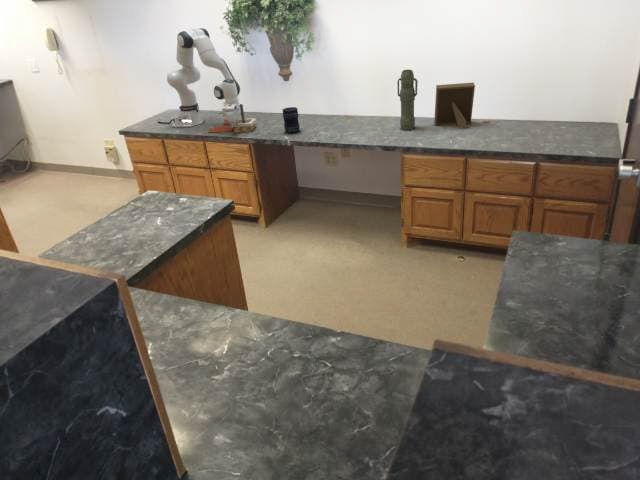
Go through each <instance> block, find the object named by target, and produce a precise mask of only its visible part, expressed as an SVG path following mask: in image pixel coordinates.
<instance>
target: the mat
mask: <svg viewBox="0 0 640 480" xmlns="http://www.w3.org/2000/svg"><path fill="white" fill-rule="evenodd" d="M232 131H234V128H233V127H232V125H219V126H213V127H212V128H211V129H210V130H209V131H208V134H215V133H231V132H232Z"/></svg>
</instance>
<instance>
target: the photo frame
mask: <svg viewBox="0 0 640 480" xmlns="http://www.w3.org/2000/svg"><path fill="white" fill-rule="evenodd" d="M475 88H476V84H475V82H462V83H461V82H460V83H448V84H447V83H445V84H438V85H436V86H435V103H434V104H435V105H434V119H433V120H434V121H433V123H434V126H435V127H437V126H438V127H439V126H453V125H454V126H455V125H457V127H458V129H467V125H469V124H472V117H473V109H474V107H473V106H474V99H475V90H476V89H475Z"/></svg>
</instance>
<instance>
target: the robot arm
mask: <svg viewBox="0 0 640 480" xmlns="http://www.w3.org/2000/svg"><path fill="white" fill-rule="evenodd" d="M176 40H177V41H176V42H177V43H176V62H177V63H178V64H179V66H181V68H179V69H175V70H172V71H170V72H169V73H167V75H166V82H167V84H168V85H169V86H170V87H172V88H174V89H175V91H176V92H177V94H178V95H179V96H178V97H179V100H180V103H181V105H180V106H179V107H178V108H179V112H178V113H176V115H175V116H174V118H173V119H170V120H169V121H168V122H165V121H156V122H157V123H159V124H165V125H169V124H171V123H172V121H173V123H172V124H171V127H172V128H192V127H195V126H200V125H202V124H203V123H204V120H203V119H202V116H201V114H200V113H201V112H200V106H199V103H198V101H197V95H196V92H195V91H193V89H192V90H191V89H190V88H189V87H188V85H191V84H195V83H196V82H198V81H200V80H201V72H200V70H199V69H198V68H197V66H195V63H194V49H196V51H197V54H198V56H199V58H200V61H201V63H202V64H203V65H204V66H206V67H209V68H213V69H216V70H218V71H220V73H221V74H222V76H223V77H224V80H222V82H221V83H219V84H216V85H215V86H214V87H213V95H214V97H215V98H216V99H217V100H224V102H225V111H226V115H227V120H228V122H229V123H233V125H234V127H236V126H237V124H238V119H239V118H240V117H241V111H240V106H239V105H240V100H239V95H240V94H241V87H240V84H239V83H238V82H237V80H236V78H235V77H234V75H233V73H232V72H231V70H230V68H229V66H228V64H227V63H226V61H225V60H224V59H223V58H222V57H221V56H220V55H219V54H218V53H217V51H216V48H215V46H214V44H213V42H212V40H211V38H210V33H209V32H208V30H207V29H206V28H201V27H200V28H191V29H188V30H182V31H180V32H178V34H177V37H176Z"/></svg>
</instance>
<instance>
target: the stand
mask: <svg viewBox="0 0 640 480" xmlns="http://www.w3.org/2000/svg"><path fill="white" fill-rule="evenodd" d="M239 106H240V112H241V115H240V117H241V119H242V122H239V123H238V124H240V123H250V122H245V119H246V118H245V111H244V105H243V104H242V103H239ZM233 128H234V129H233V133H234V134H235V133H252V132H253V130H254V129H255V128H256V121H255V122H254V124H253V125H252V126H245V127H233Z"/></svg>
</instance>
